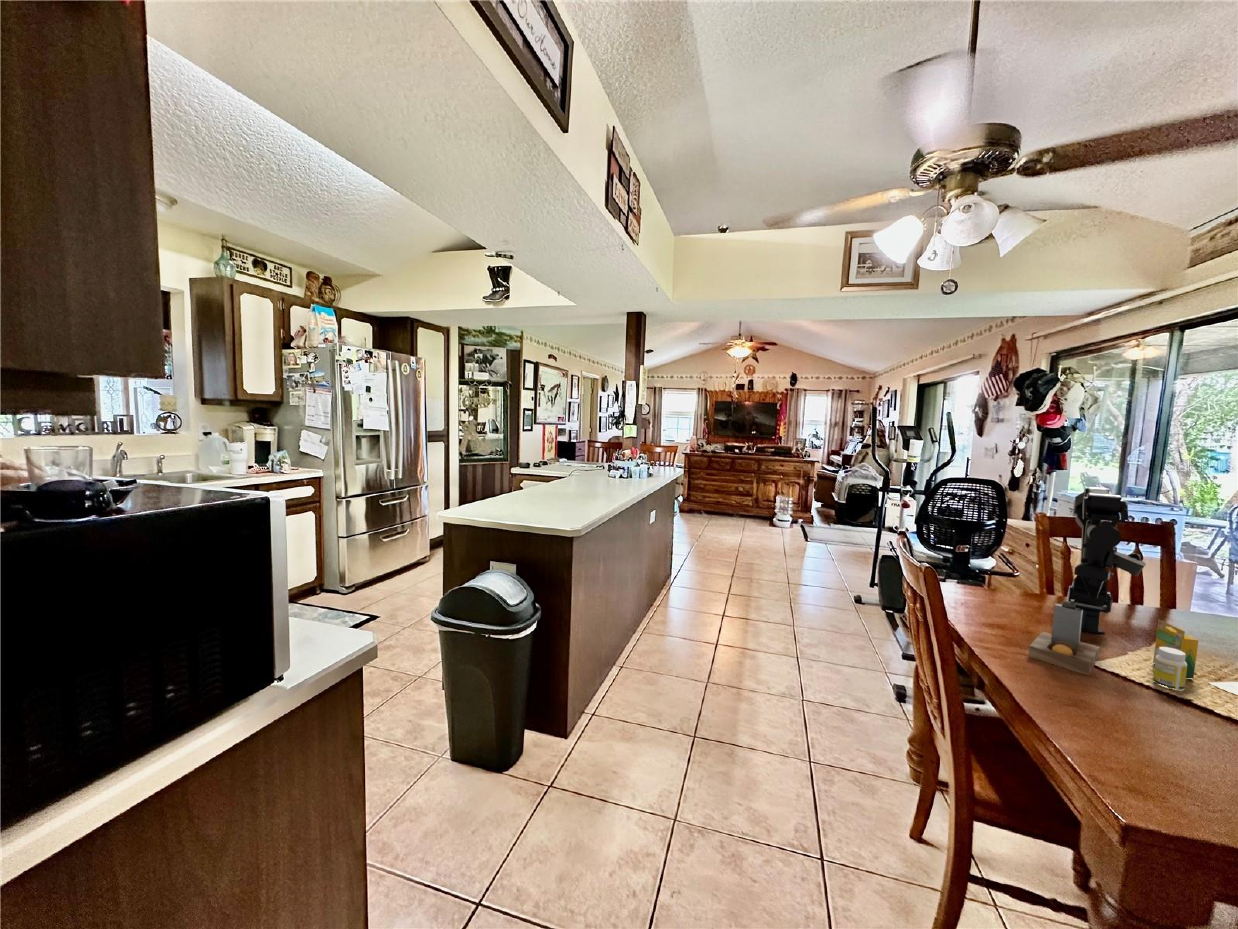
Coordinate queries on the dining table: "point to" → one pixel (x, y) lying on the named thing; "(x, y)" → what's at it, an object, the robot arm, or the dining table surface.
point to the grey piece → (1067, 625)
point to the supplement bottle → (1170, 668)
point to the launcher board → (1076, 662)
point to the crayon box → (1177, 644)
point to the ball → (1062, 649)
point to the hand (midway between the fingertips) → (1093, 597)
